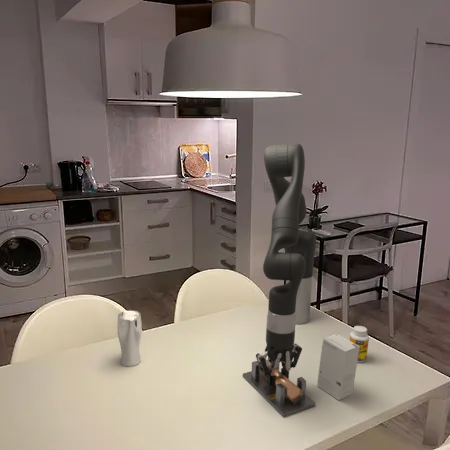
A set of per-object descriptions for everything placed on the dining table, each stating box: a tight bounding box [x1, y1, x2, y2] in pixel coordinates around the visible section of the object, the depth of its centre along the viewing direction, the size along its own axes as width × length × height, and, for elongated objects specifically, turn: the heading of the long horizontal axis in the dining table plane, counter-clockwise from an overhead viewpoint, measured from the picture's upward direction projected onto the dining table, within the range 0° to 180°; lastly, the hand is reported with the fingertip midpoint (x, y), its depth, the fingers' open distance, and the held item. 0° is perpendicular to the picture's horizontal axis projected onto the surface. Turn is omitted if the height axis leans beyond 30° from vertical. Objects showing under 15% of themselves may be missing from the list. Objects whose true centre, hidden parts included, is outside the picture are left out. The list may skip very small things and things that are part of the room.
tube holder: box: [242, 360, 316, 418], centre depth 125 cm, size 20×10×6 cm, turn 28°
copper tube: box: [256, 360, 303, 402], centre depth 125 cm, size 17×4×4 cm, turn 28°
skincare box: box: [316, 333, 359, 401], centre depth 125 cm, size 8×6×15 cm
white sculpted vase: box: [117, 310, 143, 367], centre depth 137 cm, size 7×7×15 cm
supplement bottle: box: [349, 325, 370, 364], centre depth 142 cm, size 6×6×10 cm
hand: (277, 383), depth 125 cm, fingers closed on copper tube, 3 cm apart
